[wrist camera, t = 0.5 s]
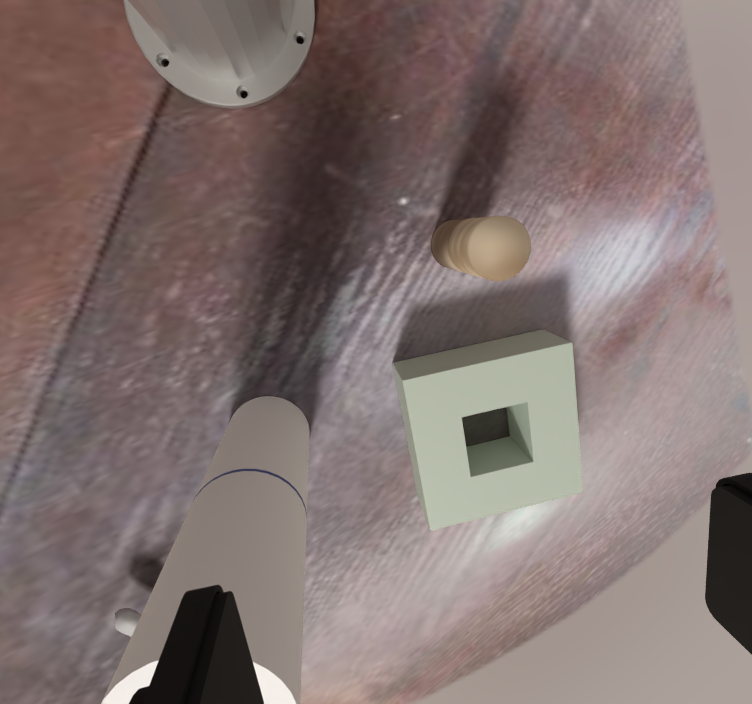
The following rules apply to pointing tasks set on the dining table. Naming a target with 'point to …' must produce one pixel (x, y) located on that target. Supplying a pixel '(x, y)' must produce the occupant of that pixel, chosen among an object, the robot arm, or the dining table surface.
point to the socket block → (497, 457)
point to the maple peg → (482, 246)
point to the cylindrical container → (240, 551)
